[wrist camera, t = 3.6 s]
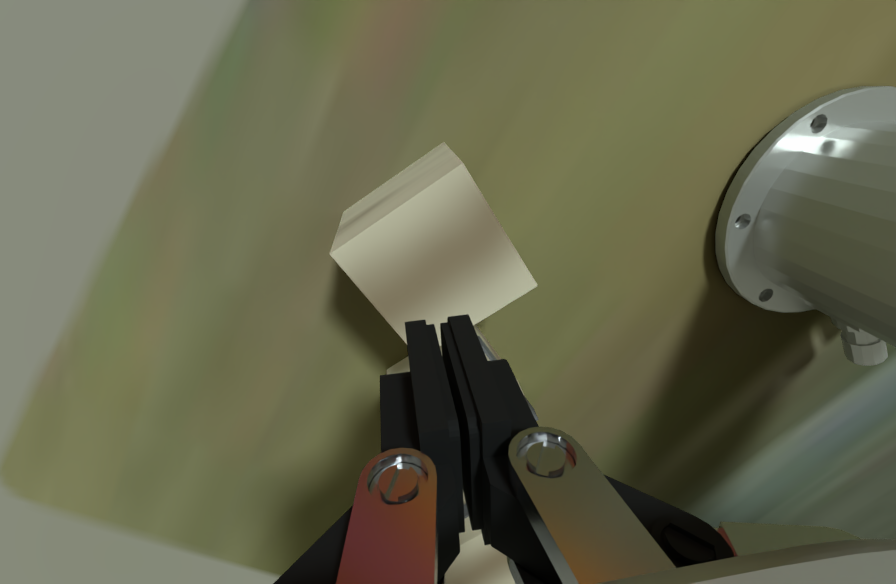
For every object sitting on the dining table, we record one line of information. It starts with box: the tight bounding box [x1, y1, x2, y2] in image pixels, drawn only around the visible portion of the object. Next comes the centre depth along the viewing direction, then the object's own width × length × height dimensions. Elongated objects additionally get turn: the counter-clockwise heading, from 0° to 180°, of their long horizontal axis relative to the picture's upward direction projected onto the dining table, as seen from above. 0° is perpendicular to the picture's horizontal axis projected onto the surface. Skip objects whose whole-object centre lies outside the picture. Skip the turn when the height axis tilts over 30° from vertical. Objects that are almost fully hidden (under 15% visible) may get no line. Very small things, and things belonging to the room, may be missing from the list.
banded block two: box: [445, 501, 515, 584], centre depth 29 cm, size 6×6×6 cm
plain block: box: [330, 142, 538, 346], centre depth 20 cm, size 6×6×6 cm
